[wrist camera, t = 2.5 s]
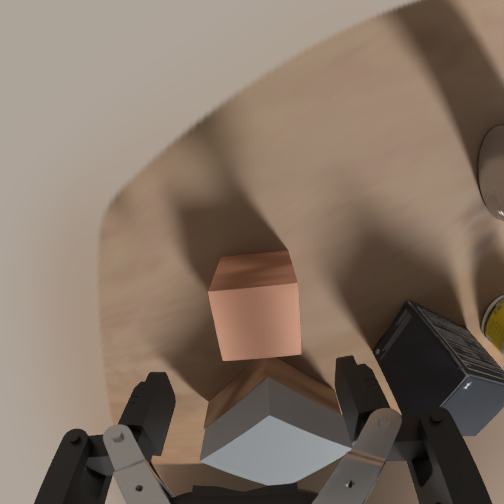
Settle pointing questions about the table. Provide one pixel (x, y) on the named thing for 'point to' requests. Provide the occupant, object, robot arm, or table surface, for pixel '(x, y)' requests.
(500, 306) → the supplement bottle
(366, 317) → the table surface
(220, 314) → the terracotta block
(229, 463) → the tower top
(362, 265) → the table surface
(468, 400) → the small box
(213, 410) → the tower base
